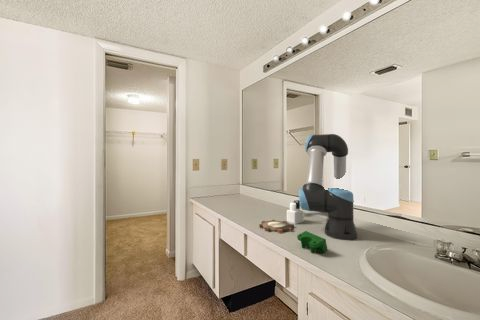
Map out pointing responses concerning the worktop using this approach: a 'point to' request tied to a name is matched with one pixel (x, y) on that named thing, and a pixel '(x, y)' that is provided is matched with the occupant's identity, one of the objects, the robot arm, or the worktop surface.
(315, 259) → the worktop surface
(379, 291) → the worktop surface
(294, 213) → the medicine bottle
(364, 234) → the worktop surface
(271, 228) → the sprocket plate
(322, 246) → the clamp
